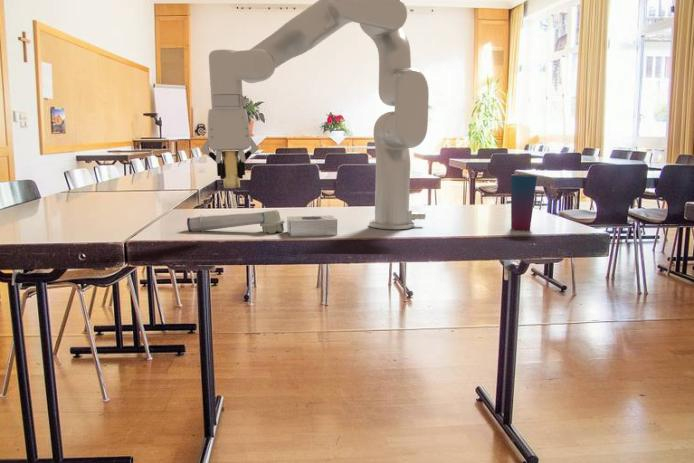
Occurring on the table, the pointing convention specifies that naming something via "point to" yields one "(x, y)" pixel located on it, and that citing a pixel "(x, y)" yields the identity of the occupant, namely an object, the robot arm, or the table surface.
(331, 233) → the block
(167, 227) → the table surface
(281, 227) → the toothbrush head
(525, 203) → the cup
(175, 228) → the table surface
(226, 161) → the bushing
